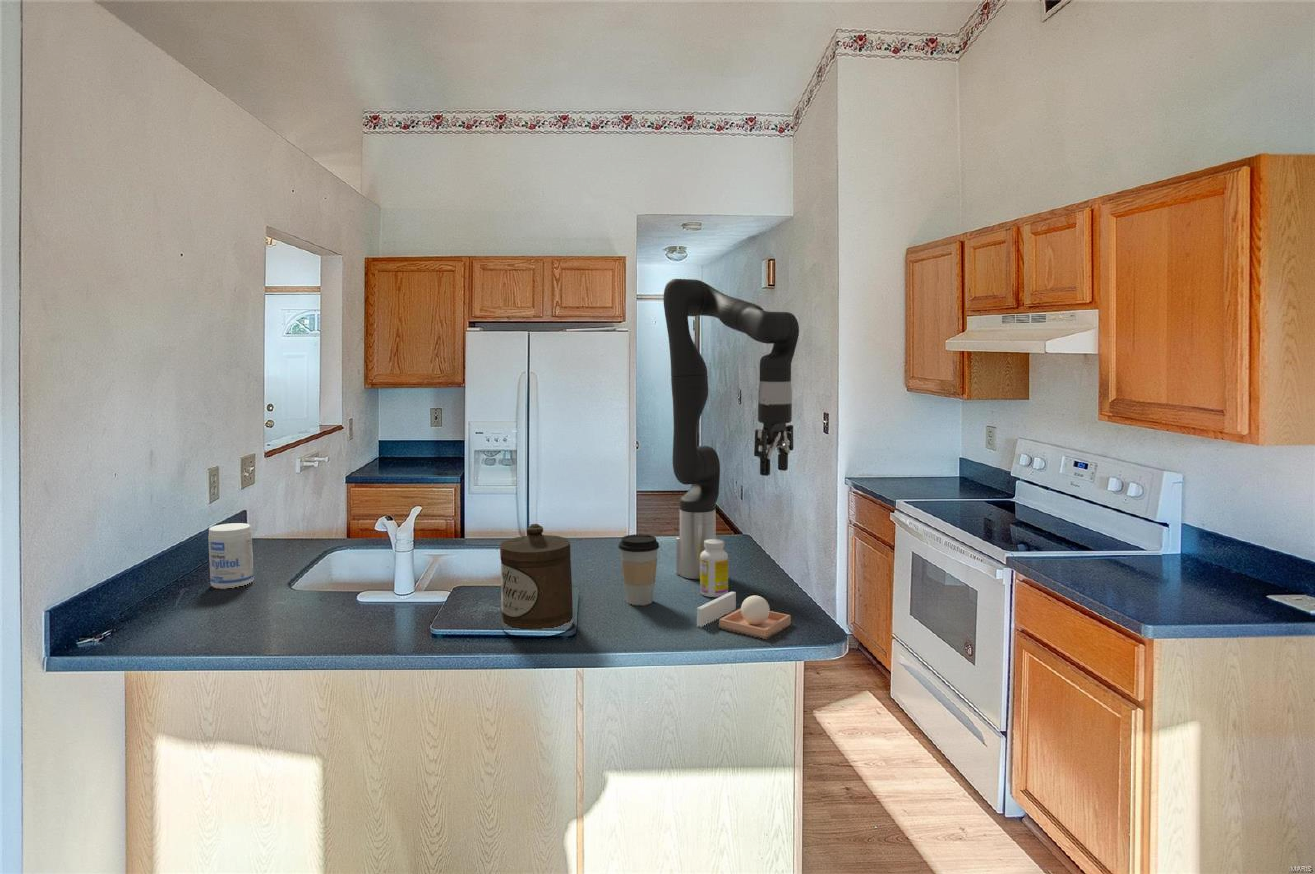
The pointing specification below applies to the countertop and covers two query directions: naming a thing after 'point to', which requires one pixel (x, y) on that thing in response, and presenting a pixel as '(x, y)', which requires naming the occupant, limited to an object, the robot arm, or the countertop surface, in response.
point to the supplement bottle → (714, 569)
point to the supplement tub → (230, 555)
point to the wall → (716, 608)
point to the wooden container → (536, 580)
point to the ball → (755, 610)
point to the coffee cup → (639, 567)
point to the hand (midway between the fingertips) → (774, 472)
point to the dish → (762, 630)
